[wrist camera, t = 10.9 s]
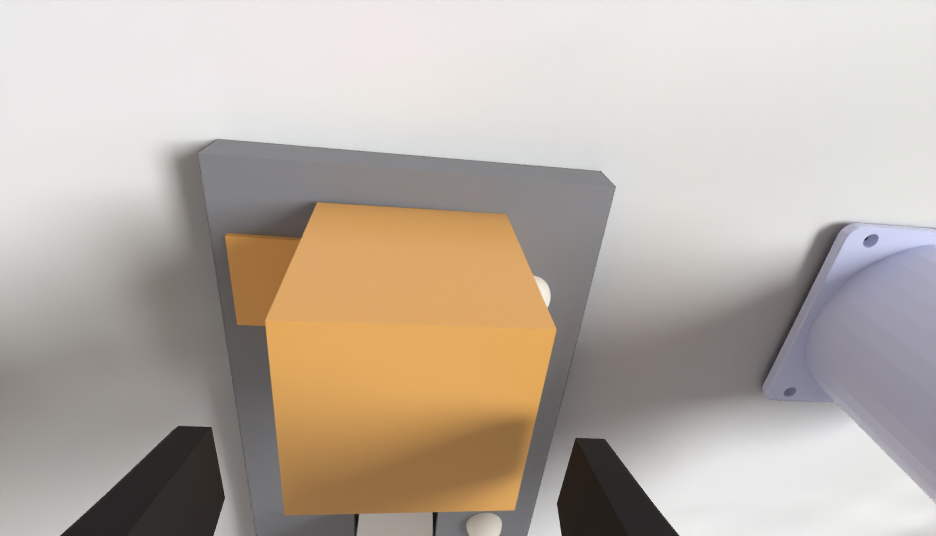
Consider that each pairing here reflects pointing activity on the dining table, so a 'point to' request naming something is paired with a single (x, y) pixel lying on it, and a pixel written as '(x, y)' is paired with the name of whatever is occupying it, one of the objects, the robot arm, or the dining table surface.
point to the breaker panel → (391, 185)
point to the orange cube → (406, 362)
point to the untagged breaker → (396, 524)
